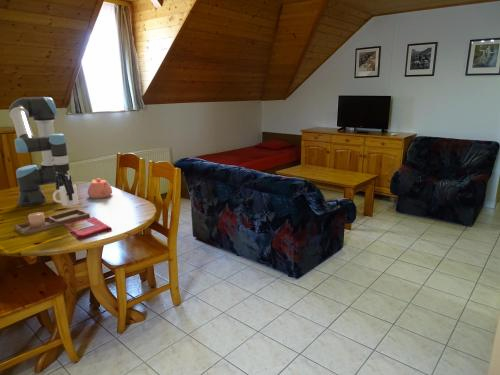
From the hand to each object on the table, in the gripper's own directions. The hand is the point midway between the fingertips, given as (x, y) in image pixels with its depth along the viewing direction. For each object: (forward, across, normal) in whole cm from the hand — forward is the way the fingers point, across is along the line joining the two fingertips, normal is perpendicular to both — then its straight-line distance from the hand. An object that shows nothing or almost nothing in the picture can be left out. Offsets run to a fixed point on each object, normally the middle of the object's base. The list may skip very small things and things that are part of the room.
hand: (67, 204), depth 197 cm
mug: (+1, -1, 0) cm, 1 cm away
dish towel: (+10, +19, 0) cm, 22 cm away
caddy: (+9, 0, -8) cm, 12 cm away
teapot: (+9, -27, +34) cm, 45 cm away
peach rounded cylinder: (+8, 0, -16) cm, 18 cm away
